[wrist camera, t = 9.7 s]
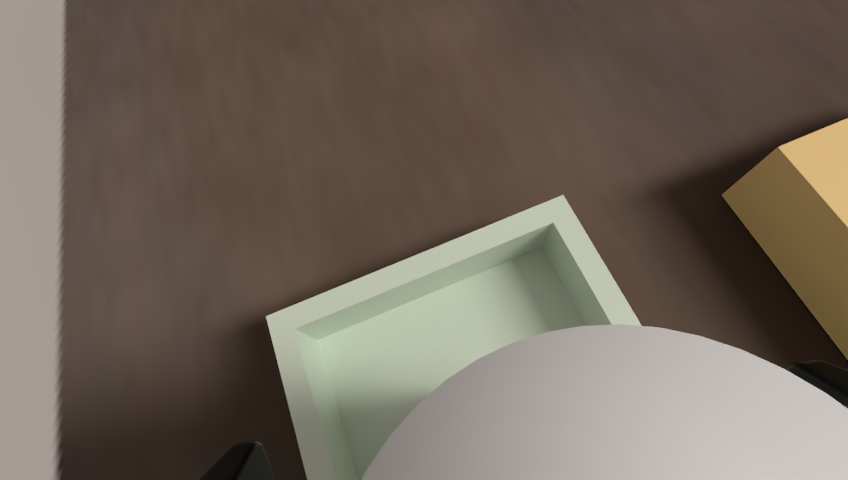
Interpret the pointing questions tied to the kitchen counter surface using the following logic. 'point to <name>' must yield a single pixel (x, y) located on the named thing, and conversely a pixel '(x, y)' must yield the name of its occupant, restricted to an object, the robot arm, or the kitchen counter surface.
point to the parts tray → (431, 328)
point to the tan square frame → (804, 220)
